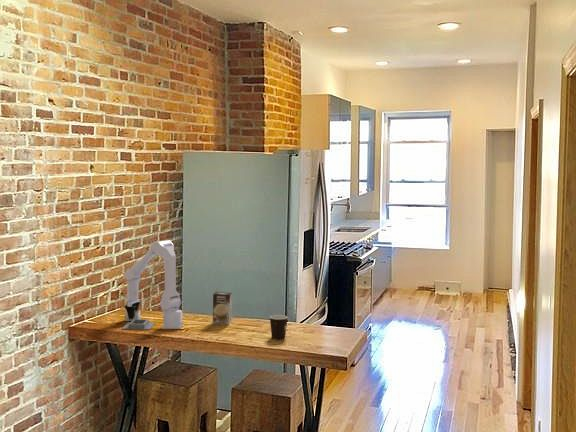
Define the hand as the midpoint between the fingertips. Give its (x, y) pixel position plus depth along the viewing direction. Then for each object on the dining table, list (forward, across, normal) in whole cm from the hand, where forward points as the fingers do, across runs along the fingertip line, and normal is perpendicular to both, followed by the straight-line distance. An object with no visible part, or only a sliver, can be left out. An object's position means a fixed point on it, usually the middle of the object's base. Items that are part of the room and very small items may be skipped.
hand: (132, 317), depth 344 cm
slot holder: (+2, +12, +6) cm, 14 cm away
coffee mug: (+2, +29, +76) cm, 81 cm away
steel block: (+2, 0, 0) cm, 2 cm away
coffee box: (+2, +2, +47) cm, 47 cm away
